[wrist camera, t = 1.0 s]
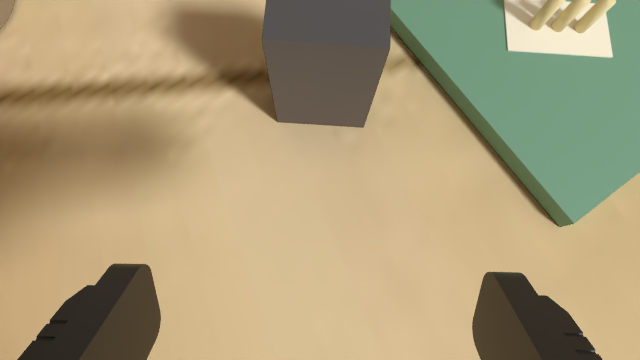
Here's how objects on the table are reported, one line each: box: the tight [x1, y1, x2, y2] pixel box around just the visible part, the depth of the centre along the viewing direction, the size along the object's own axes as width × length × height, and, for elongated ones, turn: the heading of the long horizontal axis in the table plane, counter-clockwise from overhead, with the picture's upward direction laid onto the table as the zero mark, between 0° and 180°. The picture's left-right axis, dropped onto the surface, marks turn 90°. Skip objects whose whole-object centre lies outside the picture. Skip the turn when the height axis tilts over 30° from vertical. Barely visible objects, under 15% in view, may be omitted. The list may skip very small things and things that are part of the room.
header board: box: [391, 0, 640, 227], centre depth 28 cm, size 22×18×4 cm
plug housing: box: [262, 0, 391, 127], centre depth 23 cm, size 3×6×10 cm, turn 87°
